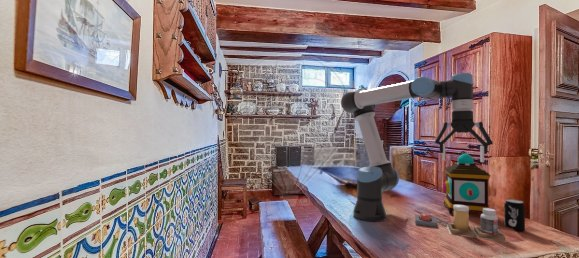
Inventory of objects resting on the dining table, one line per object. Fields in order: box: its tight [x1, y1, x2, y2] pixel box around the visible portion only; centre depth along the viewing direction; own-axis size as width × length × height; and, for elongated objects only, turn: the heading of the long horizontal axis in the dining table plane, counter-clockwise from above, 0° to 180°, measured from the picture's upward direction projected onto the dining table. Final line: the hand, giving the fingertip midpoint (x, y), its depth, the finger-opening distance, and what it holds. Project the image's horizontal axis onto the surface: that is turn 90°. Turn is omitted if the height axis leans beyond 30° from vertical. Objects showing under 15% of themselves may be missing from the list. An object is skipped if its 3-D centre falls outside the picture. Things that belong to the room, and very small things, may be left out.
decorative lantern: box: [442, 153, 491, 216], centre depth 136 cm, size 20×20×30 cm
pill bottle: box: [480, 207, 499, 235], centre depth 102 cm, size 5×5×10 cm
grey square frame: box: [414, 214, 438, 228], centre depth 116 cm, size 8×8×3 cm
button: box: [419, 212, 432, 221], centre depth 116 cm, size 4×4×4 cm
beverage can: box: [503, 198, 526, 233], centre depth 112 cm, size 7×7×12 cm
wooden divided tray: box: [446, 222, 508, 243], centre depth 104 cm, size 18×10×3 cm, turn 66°
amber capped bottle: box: [453, 205, 470, 231], centre depth 106 cm, size 5×5×10 cm
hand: (462, 161), depth 111 cm, fingers open, 13 cm apart
